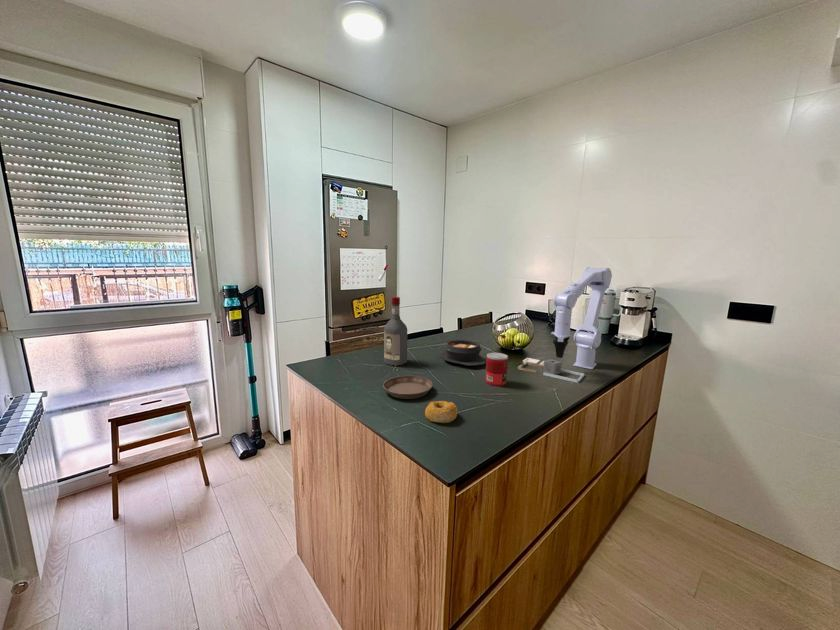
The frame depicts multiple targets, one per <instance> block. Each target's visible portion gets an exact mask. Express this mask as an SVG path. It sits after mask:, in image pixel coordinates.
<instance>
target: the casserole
mask: <svg viewBox="0 0 840 630" xmlns="http://www.w3.org/2000/svg"><path fill="white" fill-rule="evenodd" d="M481 351H482V348H481V346H480V344H479V343H478V342H476V341H473V340H465V339H457V340H450V341H447V342H446V344H445V346H444V351H441V352H439V354H440V355H441V357H442V359H444V360H445V361H447V362H449V363H453V364H456V365H463V366H467V367H475V366H476V367H477V366H481V365H484V364H485V365H486V359H485V358H484V357H483V356H482V355H480V352H481Z"/></svg>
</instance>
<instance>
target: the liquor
mask: <svg viewBox="0 0 840 630" xmlns="http://www.w3.org/2000/svg"><path fill="white" fill-rule="evenodd" d="M400 298H401V297H400V296H392V297H391V319H389V320H388V321H387V323H386V324H385V325H384V328H383V334H384V335H383V337H384V339H383V340H384V341H383V344H384V345H383V347H384V348H383V349H384V350H383V351H384V352H383V355H384V356H383V362H384V363H386V364H385V365H387V364H390V365H389V366H391V365H394V366H393V367H398V366H397V365H401V366H403V365H405V364H404V363H406V364H407V362H408V326H407V325H406V324H405V322H404V321H403V320H402V319H401V315H400V314H401V312H400V304H401V299H400ZM402 364H403V365H402Z"/></svg>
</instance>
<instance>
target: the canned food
mask: <svg viewBox="0 0 840 630" xmlns="http://www.w3.org/2000/svg"><path fill="white" fill-rule="evenodd" d="M485 360H486V363H485V383H486V384H487V385H490V386H492V387H503V386H505V385H507V380H508V367H509V366H508V365H509V355H507V354H505V353H501V352H490V353H489V352H488V353H486V359H485Z"/></svg>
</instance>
